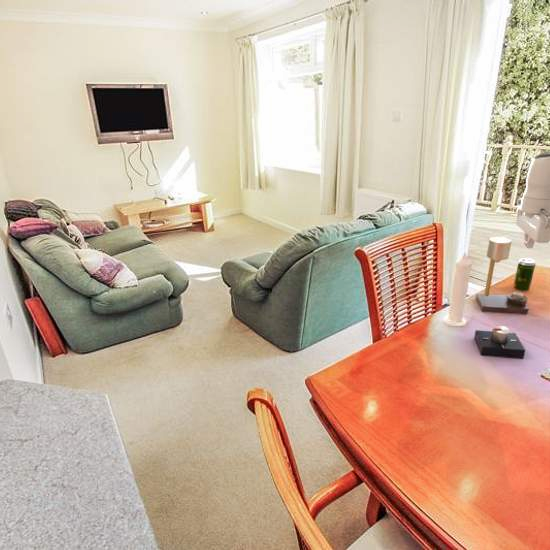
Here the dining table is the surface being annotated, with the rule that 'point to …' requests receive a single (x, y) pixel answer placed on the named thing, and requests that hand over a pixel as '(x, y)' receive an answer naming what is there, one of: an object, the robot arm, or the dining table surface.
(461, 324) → the candle
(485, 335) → the dimmer panel
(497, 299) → the lamp base
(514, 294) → the lamp switch
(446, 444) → the dining table surface
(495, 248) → the desk lamp
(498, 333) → the dimmer knob
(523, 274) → the beer can
